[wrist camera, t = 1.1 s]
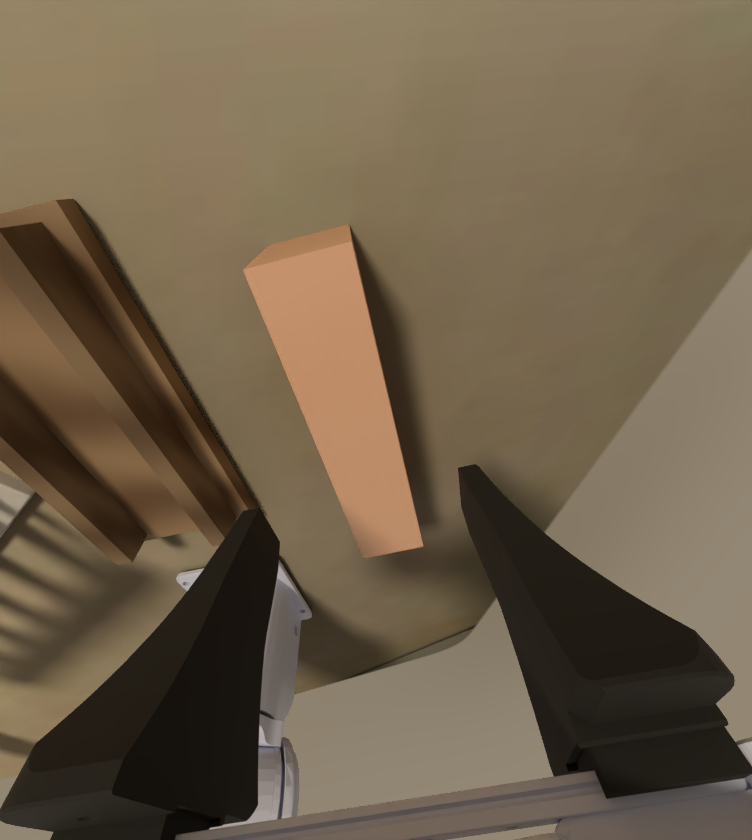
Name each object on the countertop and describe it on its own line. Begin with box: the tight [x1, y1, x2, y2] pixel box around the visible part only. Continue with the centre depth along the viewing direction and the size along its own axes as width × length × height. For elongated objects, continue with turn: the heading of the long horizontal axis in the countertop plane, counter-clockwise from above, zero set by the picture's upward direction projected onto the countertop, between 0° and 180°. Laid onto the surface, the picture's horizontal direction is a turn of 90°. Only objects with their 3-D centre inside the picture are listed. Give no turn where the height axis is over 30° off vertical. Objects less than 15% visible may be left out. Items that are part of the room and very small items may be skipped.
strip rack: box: [0, 199, 257, 565], centre depth 17 cm, size 18×9×3 cm, turn 11°
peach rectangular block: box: [243, 224, 423, 559], centre depth 17 cm, size 16×4×5 cm, turn 12°
